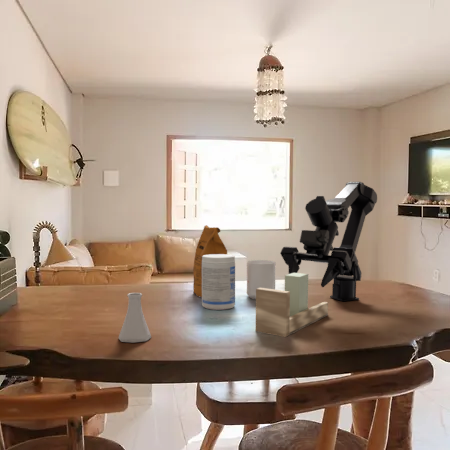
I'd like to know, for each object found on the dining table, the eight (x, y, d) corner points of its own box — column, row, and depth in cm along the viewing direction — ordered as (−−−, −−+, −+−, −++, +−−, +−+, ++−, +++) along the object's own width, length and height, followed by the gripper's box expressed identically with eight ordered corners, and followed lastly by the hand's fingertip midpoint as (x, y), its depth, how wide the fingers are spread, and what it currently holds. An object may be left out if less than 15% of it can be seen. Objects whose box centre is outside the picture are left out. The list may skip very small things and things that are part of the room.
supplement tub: (238, 310, 131) (239, 257, 130) (205, 311, 128) (205, 258, 128) (230, 302, 140) (230, 253, 139) (199, 303, 138) (199, 253, 137)
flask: (120, 334, 107) (120, 290, 107) (152, 333, 108) (152, 290, 107) (115, 344, 100) (115, 297, 99) (150, 343, 101) (150, 297, 100)
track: (301, 311, 130) (301, 275, 129) (327, 315, 125) (328, 278, 125) (255, 331, 110) (255, 288, 110) (285, 337, 106) (285, 293, 105)
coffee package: (218, 290, 158) (218, 224, 156) (230, 297, 146) (231, 227, 145) (189, 291, 155) (189, 225, 153) (199, 299, 143) (199, 227, 142)
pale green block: (293, 316, 122) (294, 272, 121) (307, 319, 119) (308, 274, 119) (284, 320, 118) (284, 275, 117) (298, 323, 115) (299, 276, 115)
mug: (277, 300, 143) (278, 263, 143) (248, 300, 143) (249, 264, 142) (270, 292, 155) (270, 258, 155) (243, 292, 155) (244, 258, 154)
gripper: (283, 217, 131) (263, 262, 123) (348, 220, 120) (330, 269, 112) (296, 242, 138) (277, 286, 130) (358, 247, 127) (342, 295, 119)
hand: (305, 284), depth 122 cm, fingers open, 9 cm apart
